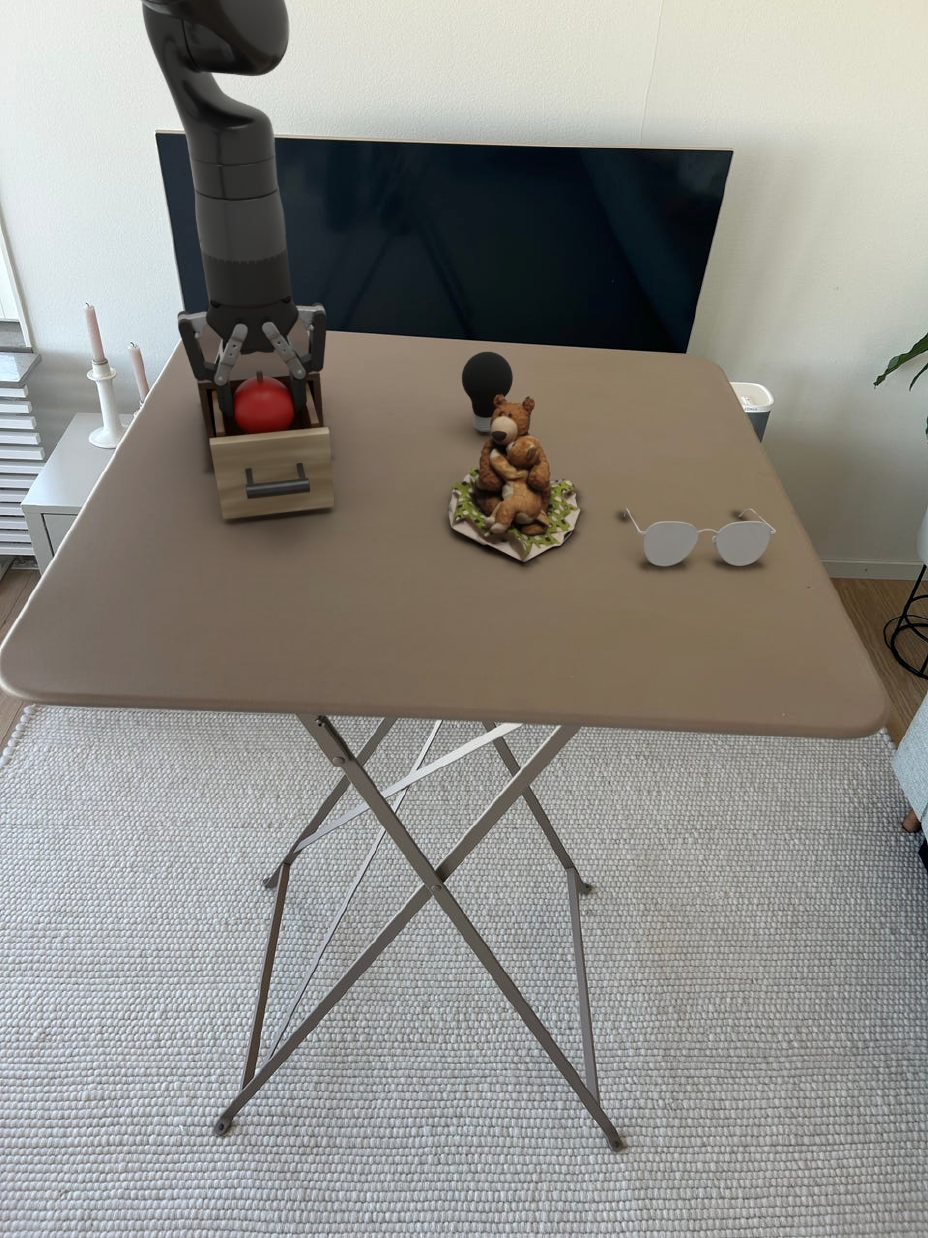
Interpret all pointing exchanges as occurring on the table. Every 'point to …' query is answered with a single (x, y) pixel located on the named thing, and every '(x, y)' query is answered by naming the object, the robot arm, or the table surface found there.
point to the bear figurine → (513, 490)
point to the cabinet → (254, 372)
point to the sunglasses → (732, 541)
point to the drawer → (272, 465)
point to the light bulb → (486, 385)
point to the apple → (263, 405)
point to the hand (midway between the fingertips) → (264, 410)
